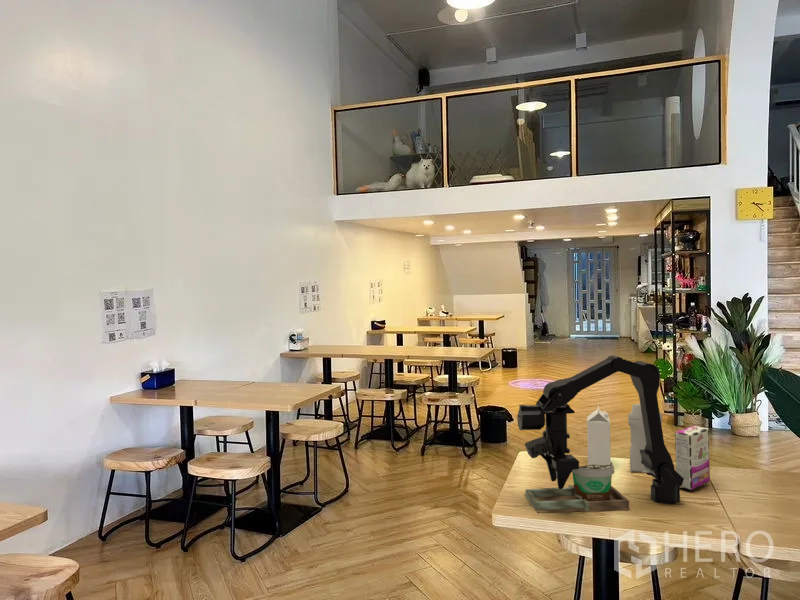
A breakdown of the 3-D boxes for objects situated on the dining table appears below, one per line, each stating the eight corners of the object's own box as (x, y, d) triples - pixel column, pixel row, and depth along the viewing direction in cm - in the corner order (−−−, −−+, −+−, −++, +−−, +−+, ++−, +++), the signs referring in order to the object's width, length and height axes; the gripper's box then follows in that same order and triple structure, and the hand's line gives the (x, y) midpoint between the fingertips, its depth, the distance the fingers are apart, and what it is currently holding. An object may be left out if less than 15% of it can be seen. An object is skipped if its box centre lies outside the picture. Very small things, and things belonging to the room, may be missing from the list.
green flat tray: (609, 492, 167) (609, 483, 167) (629, 510, 154) (629, 500, 154) (524, 496, 166) (524, 487, 165) (537, 514, 153) (537, 505, 152)
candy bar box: (693, 477, 177) (693, 424, 177) (710, 482, 173) (710, 428, 173) (674, 486, 171) (674, 431, 170) (691, 490, 167) (691, 434, 166)
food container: (578, 507, 155) (578, 470, 155) (570, 498, 161) (569, 463, 161) (623, 505, 156) (622, 468, 156) (612, 496, 162) (612, 461, 162)
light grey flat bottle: (659, 468, 186) (659, 401, 185) (665, 472, 182) (664, 403, 181) (626, 468, 187) (625, 401, 186) (631, 473, 183) (630, 404, 182)
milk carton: (587, 466, 190) (587, 409, 189) (587, 460, 197) (587, 404, 196) (610, 468, 188) (609, 410, 187) (610, 461, 194) (609, 405, 194)
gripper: (518, 421, 168) (519, 474, 168) (537, 439, 149) (538, 498, 150) (556, 420, 168) (556, 473, 169) (579, 437, 150) (580, 497, 150)
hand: (556, 484), depth 159 cm, fingers open, 6 cm apart
